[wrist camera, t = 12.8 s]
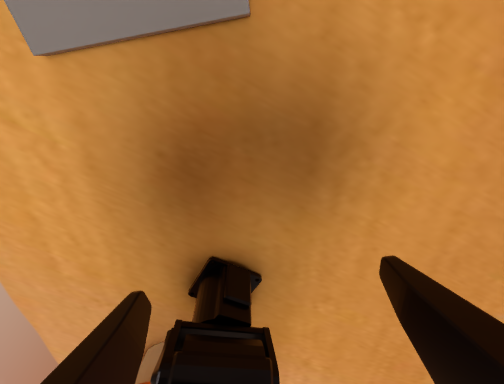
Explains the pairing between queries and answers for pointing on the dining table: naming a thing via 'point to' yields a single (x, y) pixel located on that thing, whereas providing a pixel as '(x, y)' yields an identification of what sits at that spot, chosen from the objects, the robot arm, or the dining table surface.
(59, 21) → the socket board
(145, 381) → the reusable coffee cup
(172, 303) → the dining table surface
